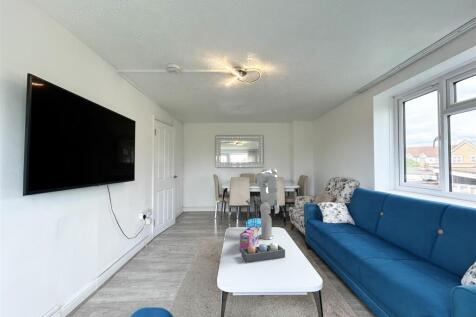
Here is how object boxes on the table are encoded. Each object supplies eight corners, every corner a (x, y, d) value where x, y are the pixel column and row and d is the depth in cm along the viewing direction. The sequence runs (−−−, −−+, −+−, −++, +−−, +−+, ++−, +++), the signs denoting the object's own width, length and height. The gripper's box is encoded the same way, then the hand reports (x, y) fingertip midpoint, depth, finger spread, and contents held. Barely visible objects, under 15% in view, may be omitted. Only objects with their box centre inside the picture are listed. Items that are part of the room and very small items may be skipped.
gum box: (250, 241, 197) (250, 226, 197) (259, 242, 193) (259, 227, 194) (239, 251, 175) (239, 234, 175) (249, 253, 172) (248, 235, 172)
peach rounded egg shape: (246, 254, 164) (246, 245, 164) (253, 253, 166) (253, 245, 166) (249, 257, 159) (249, 248, 159) (256, 256, 161) (256, 247, 161)
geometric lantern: (252, 227, 241) (253, 194, 241) (264, 230, 231) (265, 196, 231) (243, 230, 229) (244, 196, 229) (256, 233, 219) (257, 198, 219)
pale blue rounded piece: (258, 252, 167) (258, 244, 167) (264, 251, 169) (264, 243, 169) (260, 255, 162) (260, 247, 162) (268, 254, 163) (268, 246, 163)
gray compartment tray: (241, 255, 166) (241, 248, 167) (277, 251, 175) (277, 244, 175) (246, 262, 155) (246, 254, 155) (285, 257, 164) (285, 249, 164)
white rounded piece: (269, 251, 170) (269, 243, 170) (275, 250, 171) (275, 242, 171) (272, 254, 164) (272, 245, 164) (279, 253, 166) (279, 245, 166)
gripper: (264, 189, 183) (264, 212, 183) (272, 191, 169) (272, 216, 169) (272, 189, 185) (272, 211, 185) (281, 191, 171) (281, 215, 171)
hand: (272, 213), depth 177 cm, fingers closed
